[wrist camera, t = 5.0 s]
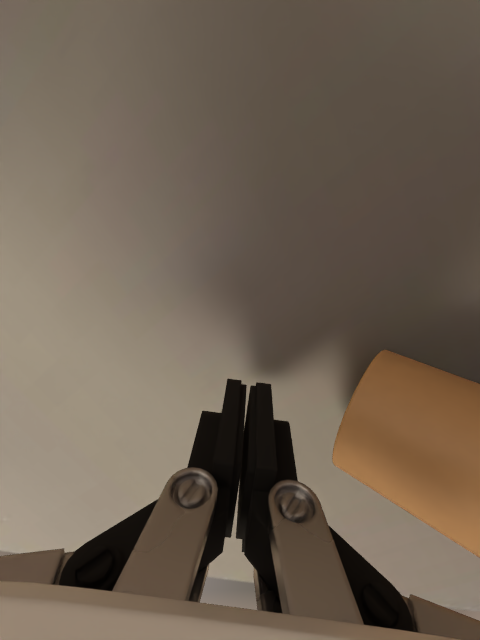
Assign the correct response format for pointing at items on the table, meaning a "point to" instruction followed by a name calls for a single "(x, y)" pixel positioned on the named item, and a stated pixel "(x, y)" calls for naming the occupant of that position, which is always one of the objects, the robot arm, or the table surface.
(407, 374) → the orange-brown cylinder
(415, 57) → the table surface
